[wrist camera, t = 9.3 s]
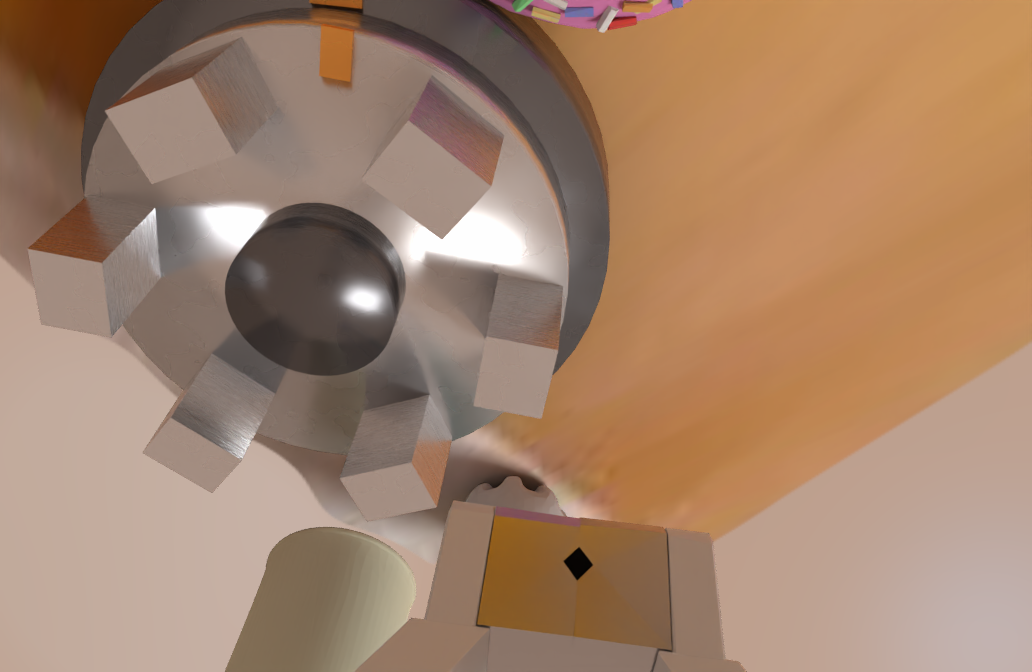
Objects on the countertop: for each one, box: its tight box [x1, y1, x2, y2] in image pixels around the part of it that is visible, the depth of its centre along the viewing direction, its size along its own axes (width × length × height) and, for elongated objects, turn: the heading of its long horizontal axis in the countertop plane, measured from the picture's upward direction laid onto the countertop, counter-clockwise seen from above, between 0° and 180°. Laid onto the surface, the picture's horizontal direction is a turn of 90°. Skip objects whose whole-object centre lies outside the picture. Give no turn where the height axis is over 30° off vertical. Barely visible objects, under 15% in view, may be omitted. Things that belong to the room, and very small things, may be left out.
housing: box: [81, 0, 610, 375], centre depth 36 cm, size 21×21×4 cm
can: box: [225, 527, 416, 672], centre depth 48 cm, size 9×9×12 cm
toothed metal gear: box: [28, 8, 570, 522], centre depth 31 cm, size 18×18×6 cm
